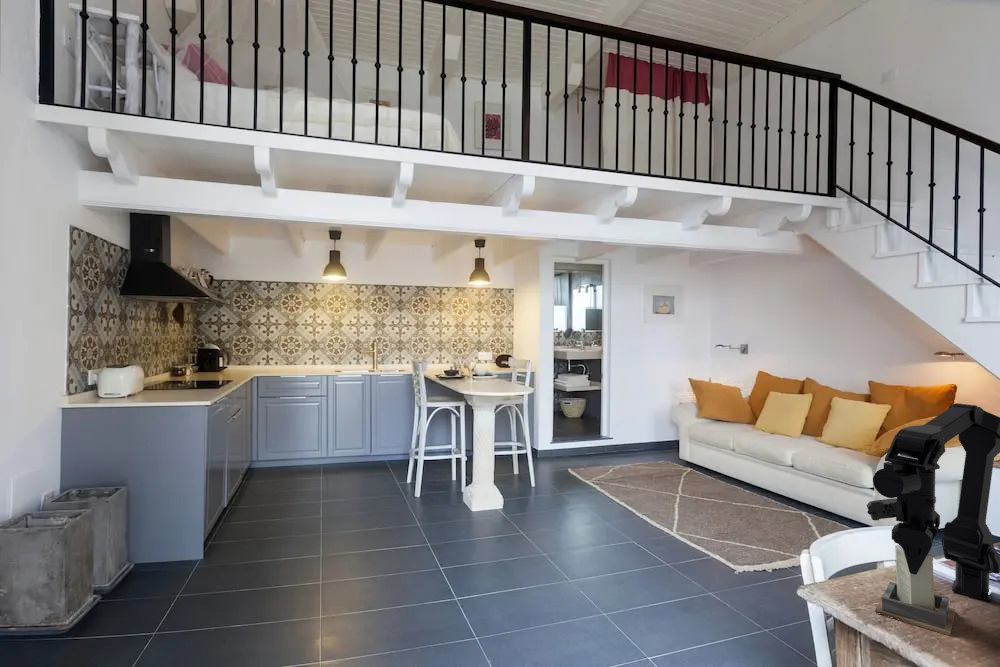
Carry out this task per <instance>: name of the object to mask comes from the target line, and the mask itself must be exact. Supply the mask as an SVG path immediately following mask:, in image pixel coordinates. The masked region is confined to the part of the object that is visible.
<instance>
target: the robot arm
mask: <svg viewBox="0 0 1000 667" xmlns="http://www.w3.org/2000/svg"><path fill="white" fill-rule="evenodd" d="M957 436H958V442H959V443H960V445H961V447H962V448H963V450H964V452H965V455H964V456H965V457H964V466H963V470H962V471H963V472H962V479H961V484H960V485H961V487H960V495H959V502H958V508H957V515H956V517H955V518H953V519H952V520H951V521H950V522H949V521H947V522H946V523H945V524H944V532H943V535H942V537H941V546H942V552H943V554H944V559H946V560H949V561H952V562H955V572H954V573H955V577H954V579H955V580H954V579H953V582H952V588H951V591H952V592H954V593H957V594H961V595H964V596H969V597H973V598H976V599H980V600H982V601H983V600H984V601H988V602H991V601H992V595H991V596H990V595H988V592H989V589H990V575H991V574H1000V554H999V553H998V551H997V549H996V548H995V546H994V542H995V541H994V539H995V538H994V536H993V533H992V532H991V530H990V528H989V526H988V524H987V515H988V507H989V500H990V493H991V492H990V491H991V483H992V475H993V468H994V463H995V462H994V461H995V458H996V457H997V456H998V455H999V454H1000V416H998V415H995V414H993V413H991V412H988V411H986V410H984V409H983V408H982V407H981V406H978V405H976V404H968V403H958V402H957V403H956V402H955V403H951V404H950V405H949V406H948V409H946V410H945V411H943V412H941V413H940V414H938V415H937V416H935V417H934V418H932V419H931V420H929V421H928V422H926V423H925V424H922V425H911V426H907V427H903V428H900V429H899V430H898V431H897V433H896V434H895V435H894V437H893V440H892V442H891V443H890V445H889V448H888V451H887V453H886V454H885V457H884V461H885V462H883V468H881V469H878V470H877V471H876V472H875V473H874V475H873V477H872V485H873V487H874V488H875V490H876V491H877V493H879V494H880V495H881V496H883V497H885V498H884V499H875V500H871V501H869V502H868V503H867V504H866V507H867V514H868V515H870V518H871V521H880V520H884V519H892V518H895V521H896V522H898V523H897V524H895V525H894V526H893V527H892V528H891V540H893V541H894V543H895V544H896V545H900V546H901V547H902V548H903V550H904V554H905V557H906V561H907V565H908V568H909V572H910V573H911V574H915V575H916V574H917V573H918V571H919V569H920V567H921V566H922V564H923V562H924V560H925V558H926V557H927V555H928V554H930V551H931V550H932V548H933V541H934V539H935V537H936V536H937V533H938V531H939V530H940V529H939V527H940V525H941V515H940V514H939V513H938V512H937V511H936V507H935V506H936V501H937V497H936V470H940V468H941V466H940V465H939V463H938V461H939V460H940V459H941V458H942V455H944V454H945V453H946V447H945V446H946V444H947V443H948V442H950V441H951V440H952V439H954V438H955V437H957Z"/></svg>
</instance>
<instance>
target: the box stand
mask: <svg viewBox="0 0 1000 667" xmlns="http://www.w3.org/2000/svg"><path fill="white" fill-rule="evenodd" d="M949 598H950V597H948V596H944V595H941V594H937V593H934V599H935V611H933V610H929V609H926V608H922V607H919V606H915V605H912V604H908V603H905V602H901V601H898V596H897V582H891V581H890V582H889V583H888V585H887V587H886V589H885V590H884V592H883V594H882V596H881V598H880V600H879V601H878V604H877V606H876V608H875V610H874V613H875V612H876V613H875V614H877V613H880V614H883V615H885V616H884V617H887V616H889V617H888V618H890V617H893V618H895V619H894V620H896V619H899V620H898V621H900V620H901V621H900V622H903V621H904V622H903V623H907V624H910V625H913V626H917V627H919V626H921V628H923V629H926V630H930V631H933V632H936V633H940V634H943V635H946V636H949V637H950V636H951V634H952V630H953V625H954V620H955V615H956V609H955V608H952V607H950V605H949V601H950V599H949ZM880 614H879V615H880ZM883 615H882V616H883ZM893 618H892V619H893Z"/></svg>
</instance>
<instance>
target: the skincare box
mask: <svg viewBox="0 0 1000 667" xmlns="http://www.w3.org/2000/svg"><path fill="white" fill-rule="evenodd" d="M894 547H895V548H894V549H895V550H894V551H895V569H896V573H895V574H896V584H897V596H898V601H901V602H905V603H908V604H912V605H915V606H919V607H922V608H926V609H929V610H933V611H935V599H934V594H935V582H934V581H935V580H934V562H933V561H934V560H933V558H934V557H933V555H931V554H930V553H928V555H927V557H926V558H925V560H924V562H923V564H922V566H921V567H920V569H919V571H918V573H917V574H916V575H915V574H911V573H910V572H909V568H908V565H907V561H906V557H905V554H904V550H903V548H902V547H901V546H900V545H899V544H895V546H894Z"/></svg>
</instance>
